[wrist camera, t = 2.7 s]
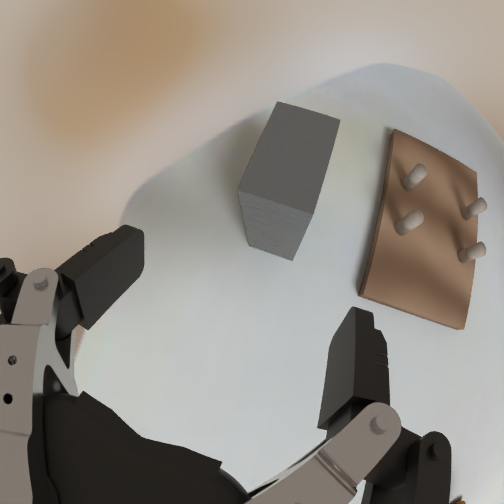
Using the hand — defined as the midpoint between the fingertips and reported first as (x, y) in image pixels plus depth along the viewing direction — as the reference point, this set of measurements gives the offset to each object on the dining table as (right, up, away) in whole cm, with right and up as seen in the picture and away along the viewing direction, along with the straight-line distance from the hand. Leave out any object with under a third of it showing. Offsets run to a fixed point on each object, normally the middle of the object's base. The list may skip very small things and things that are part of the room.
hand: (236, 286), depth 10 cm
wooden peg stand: (+17, +4, +12) cm, 21 cm away
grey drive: (+3, +4, +13) cm, 14 cm away
